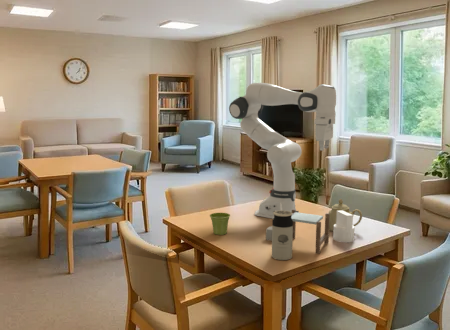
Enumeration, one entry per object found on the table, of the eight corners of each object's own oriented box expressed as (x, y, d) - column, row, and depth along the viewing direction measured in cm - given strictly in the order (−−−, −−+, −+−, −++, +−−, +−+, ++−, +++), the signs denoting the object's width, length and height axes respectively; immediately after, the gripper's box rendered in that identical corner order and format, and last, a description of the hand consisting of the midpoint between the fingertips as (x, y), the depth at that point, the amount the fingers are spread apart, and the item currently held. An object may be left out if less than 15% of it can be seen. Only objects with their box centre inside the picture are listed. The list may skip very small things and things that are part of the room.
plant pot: (215, 237, 202) (215, 218, 201) (206, 231, 211) (206, 213, 209) (233, 234, 207) (233, 216, 205) (224, 229, 215) (224, 211, 214)
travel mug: (273, 252, 183) (274, 209, 180) (293, 254, 181) (294, 211, 178) (269, 259, 175) (270, 214, 173) (290, 261, 173) (291, 216, 170)
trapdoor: (280, 221, 190) (280, 216, 189) (288, 215, 199) (289, 211, 199) (315, 227, 183) (316, 221, 183) (322, 220, 193) (323, 215, 192)
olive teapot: (358, 226, 220) (359, 196, 217) (361, 233, 209) (363, 202, 207) (326, 225, 222) (328, 195, 219) (328, 232, 211) (330, 200, 208)
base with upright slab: (358, 241, 198) (359, 214, 196) (339, 243, 195) (341, 216, 193) (347, 235, 206) (348, 209, 204) (329, 237, 204) (330, 211, 202)
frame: (280, 247, 189) (280, 217, 187) (292, 237, 203) (292, 209, 201) (319, 254, 181) (320, 222, 179) (328, 242, 196) (329, 213, 194)
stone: (265, 240, 199) (266, 229, 199) (269, 236, 204) (270, 226, 203) (276, 241, 197) (276, 230, 196) (280, 238, 202) (280, 227, 201)
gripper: (323, 118, 221) (322, 146, 223) (313, 120, 202) (312, 151, 204) (336, 119, 218) (335, 147, 220) (327, 121, 200) (326, 152, 202)
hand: (324, 149), depth 212 cm, fingers open, 8 cm apart
